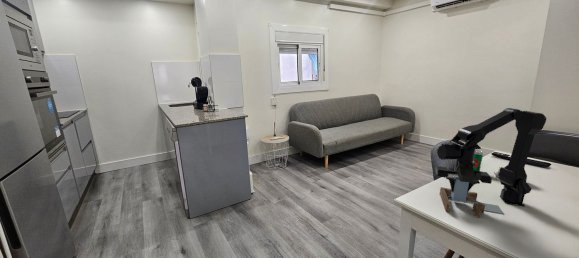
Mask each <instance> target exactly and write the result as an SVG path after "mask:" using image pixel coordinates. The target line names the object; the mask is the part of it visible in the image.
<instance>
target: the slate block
mask: <svg viewBox="0 0 579 258" xmlns="http://www.w3.org/2000/svg"><path fill="white" fill-rule="evenodd" d="M454 179H455V181H454V191H453V192H451V197H450V198H451V200H452V202H458V203H459V202H460V203H466V201H467V200H466V196H467V190H468V185H469V182H461V181H460V180H459V177H458V176H455V175H454Z"/></svg>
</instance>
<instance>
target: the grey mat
mask: <svg viewBox="0 0 579 258" xmlns="http://www.w3.org/2000/svg"><path fill="white" fill-rule="evenodd" d="M478 203H479V204H484V205H485V209H484V212H489V213H494V214H498V215H499V214H500V215H505V213H504V211H503V210H502V209H501V207H500V206H499V205H497V204H492V203H485V202H478Z"/></svg>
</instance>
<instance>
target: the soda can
mask: <svg viewBox="0 0 579 258" xmlns="http://www.w3.org/2000/svg"><path fill="white" fill-rule="evenodd" d="M483 156H484V153H483V151H480V150H478V149H475V153H474V159H473V169H474V170H476V171H481V167H482V162H483Z"/></svg>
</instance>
